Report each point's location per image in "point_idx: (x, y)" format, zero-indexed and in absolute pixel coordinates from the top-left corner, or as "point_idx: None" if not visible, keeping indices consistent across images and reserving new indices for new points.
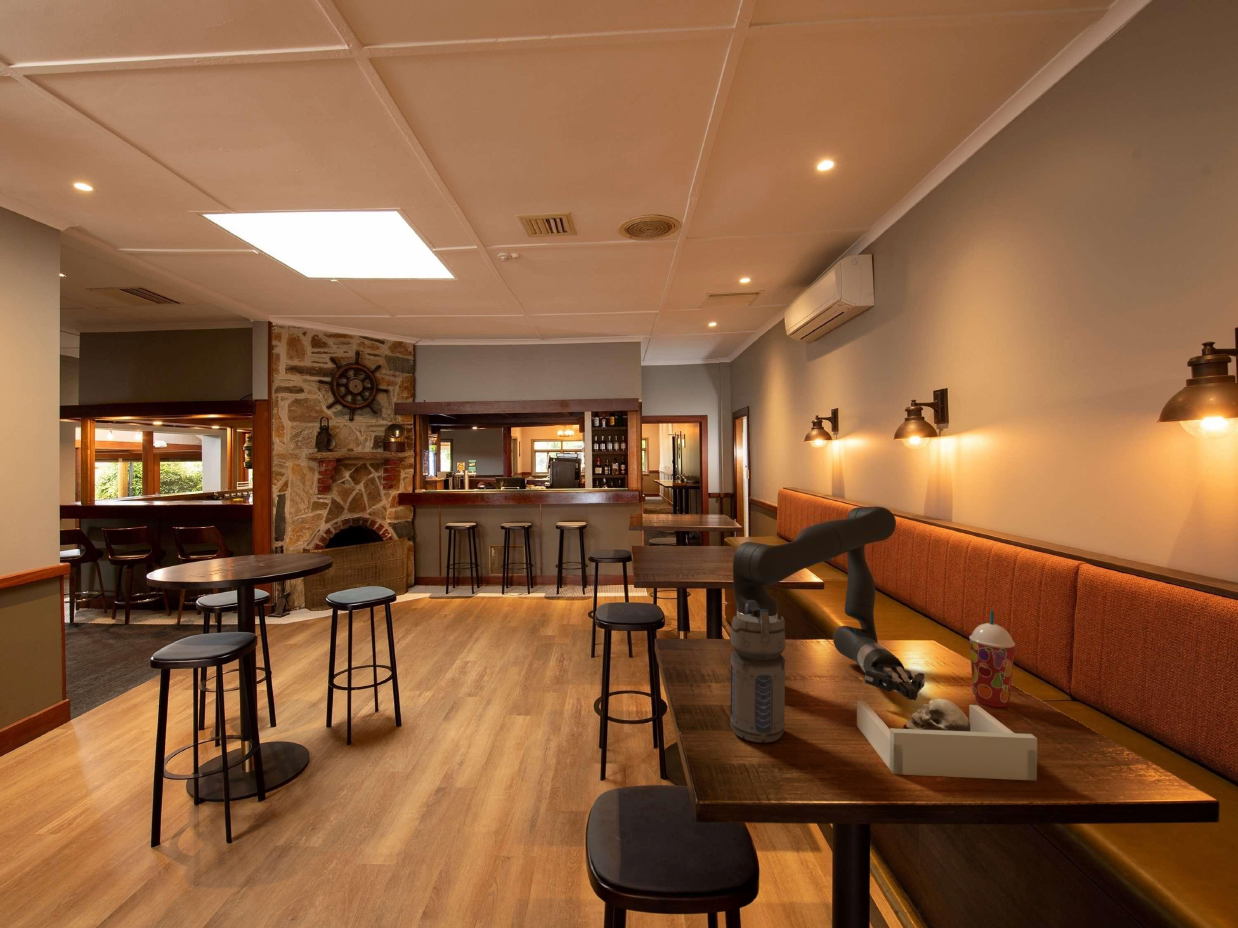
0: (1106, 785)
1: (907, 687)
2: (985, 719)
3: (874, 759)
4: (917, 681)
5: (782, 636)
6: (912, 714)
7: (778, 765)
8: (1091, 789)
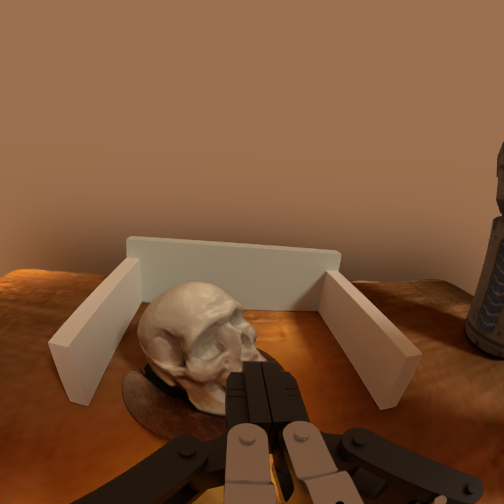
0: (62, 284)
1: (276, 371)
2: (102, 309)
3: None
4: (179, 438)
5: (500, 176)
6: None
7: (436, 306)
8: (87, 283)
